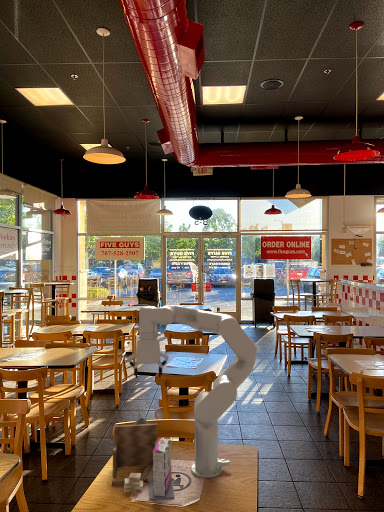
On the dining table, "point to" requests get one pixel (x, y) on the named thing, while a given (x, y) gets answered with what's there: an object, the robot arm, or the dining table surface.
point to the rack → (133, 447)
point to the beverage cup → (140, 420)
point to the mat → (169, 496)
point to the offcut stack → (133, 482)
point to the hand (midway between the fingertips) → (148, 377)
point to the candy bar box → (162, 467)
